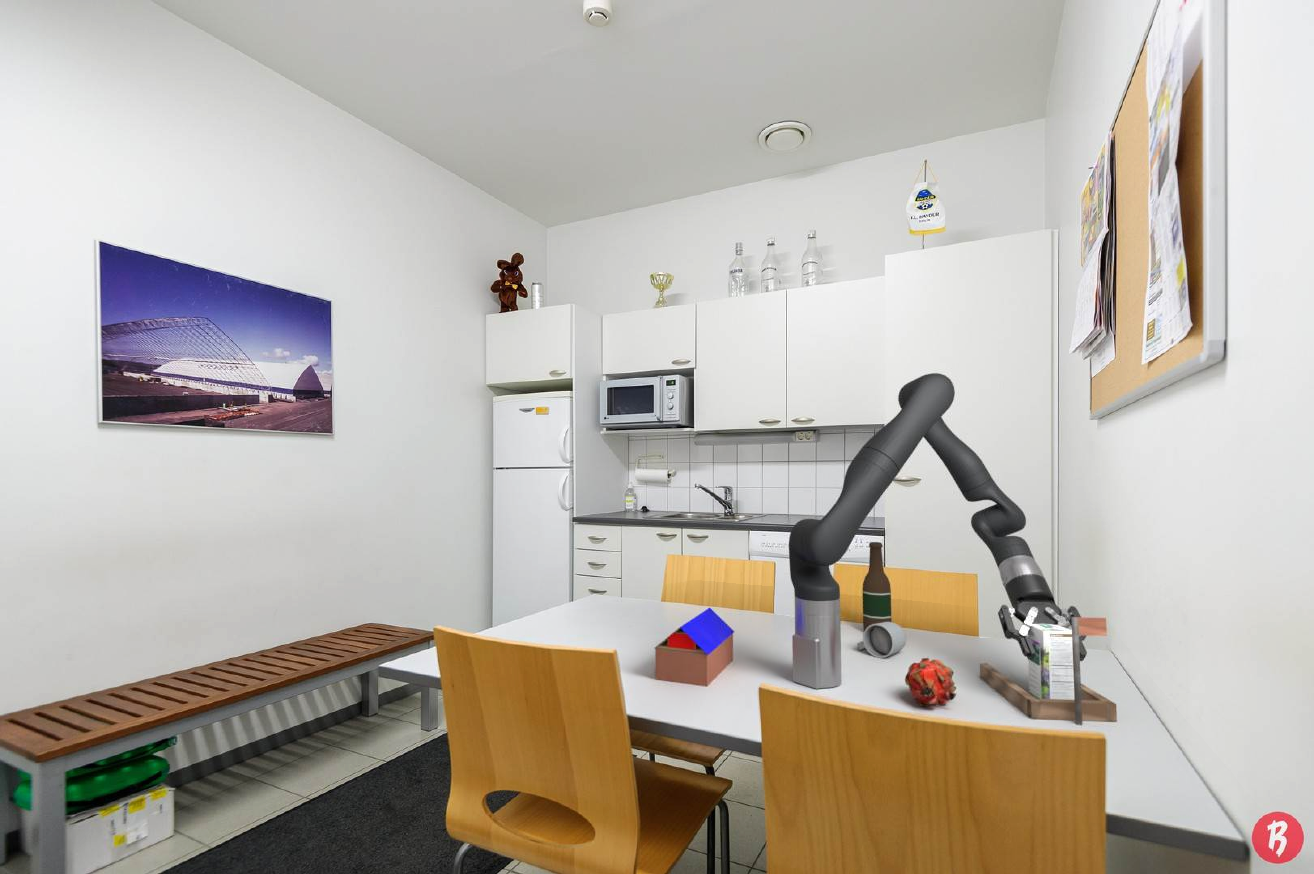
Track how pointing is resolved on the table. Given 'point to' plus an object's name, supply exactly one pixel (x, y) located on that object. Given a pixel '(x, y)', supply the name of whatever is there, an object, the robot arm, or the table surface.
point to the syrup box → (1051, 662)
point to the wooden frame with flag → (1080, 709)
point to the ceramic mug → (883, 639)
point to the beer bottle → (876, 590)
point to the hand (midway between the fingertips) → (1057, 658)
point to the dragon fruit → (930, 682)
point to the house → (695, 651)
